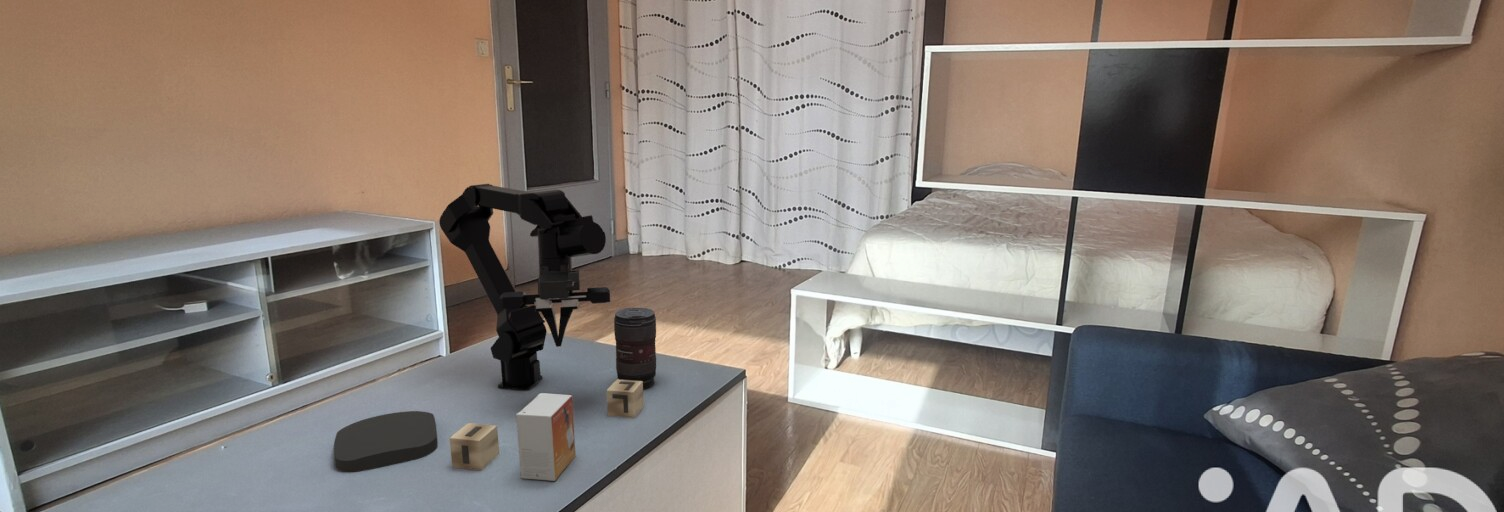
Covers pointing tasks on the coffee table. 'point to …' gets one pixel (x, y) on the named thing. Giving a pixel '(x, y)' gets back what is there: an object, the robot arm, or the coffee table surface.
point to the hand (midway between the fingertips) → (558, 346)
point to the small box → (546, 436)
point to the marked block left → (474, 446)
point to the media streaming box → (385, 440)
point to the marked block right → (625, 398)
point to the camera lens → (635, 345)
